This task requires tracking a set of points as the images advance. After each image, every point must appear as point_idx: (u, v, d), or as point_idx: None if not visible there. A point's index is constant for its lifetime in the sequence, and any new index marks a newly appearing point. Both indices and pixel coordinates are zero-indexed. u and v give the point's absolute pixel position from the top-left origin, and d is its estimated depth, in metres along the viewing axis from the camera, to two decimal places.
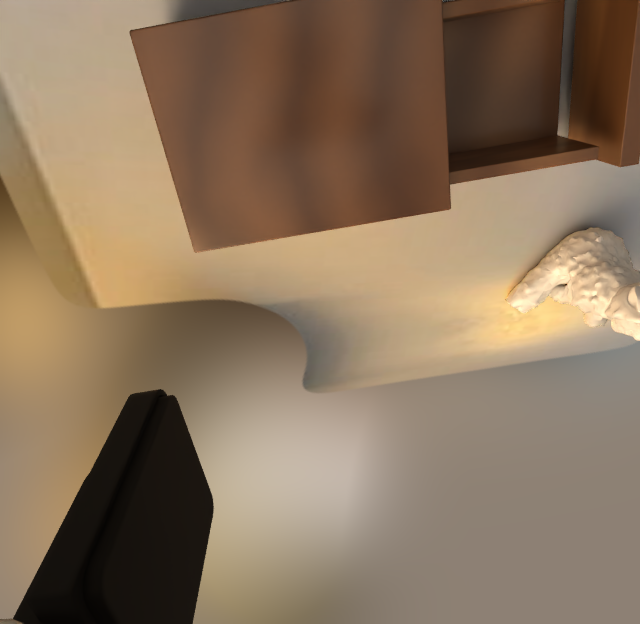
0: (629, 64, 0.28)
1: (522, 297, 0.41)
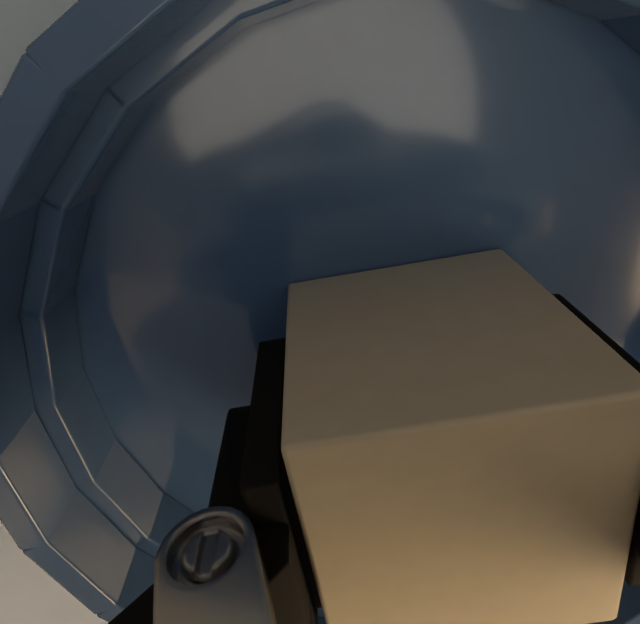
0: None
1: None
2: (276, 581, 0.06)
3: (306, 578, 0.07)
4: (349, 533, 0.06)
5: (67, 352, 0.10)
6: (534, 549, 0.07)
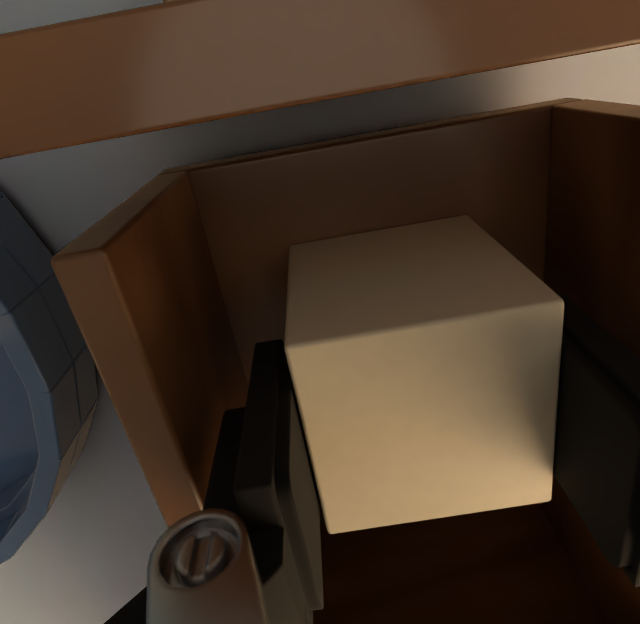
0: (397, 85, 0.06)
1: None
2: (270, 584, 0.06)
3: (301, 580, 0.07)
4: (336, 419, 0.08)
5: None
6: (480, 434, 0.09)
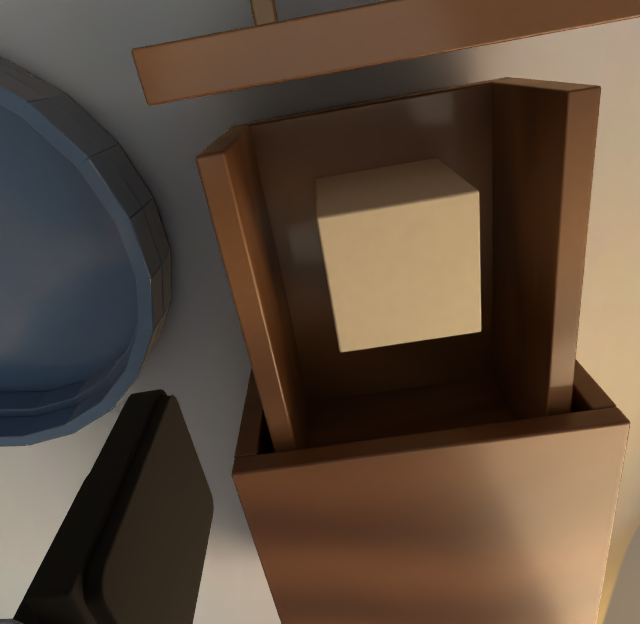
0: None
1: None
2: None
3: None
4: (346, 267, 0.14)
5: None
6: (433, 280, 0.14)
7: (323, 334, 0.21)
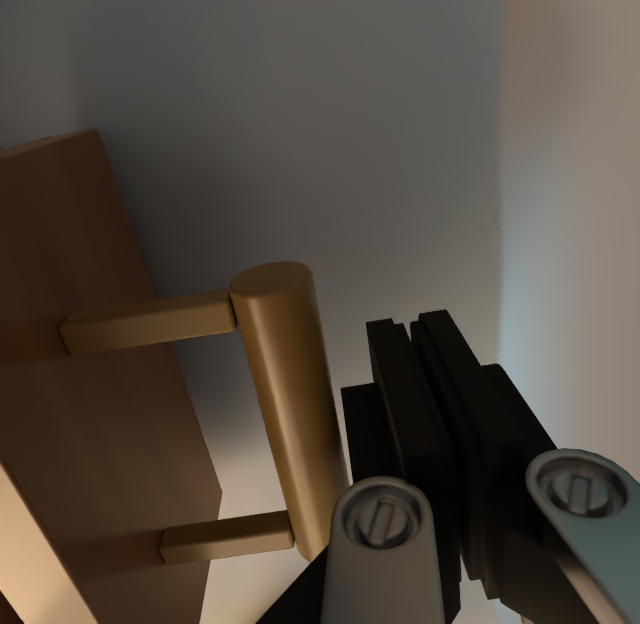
0: None
1: None
2: (446, 549, 0.06)
3: None
4: None
5: None
6: None
7: None
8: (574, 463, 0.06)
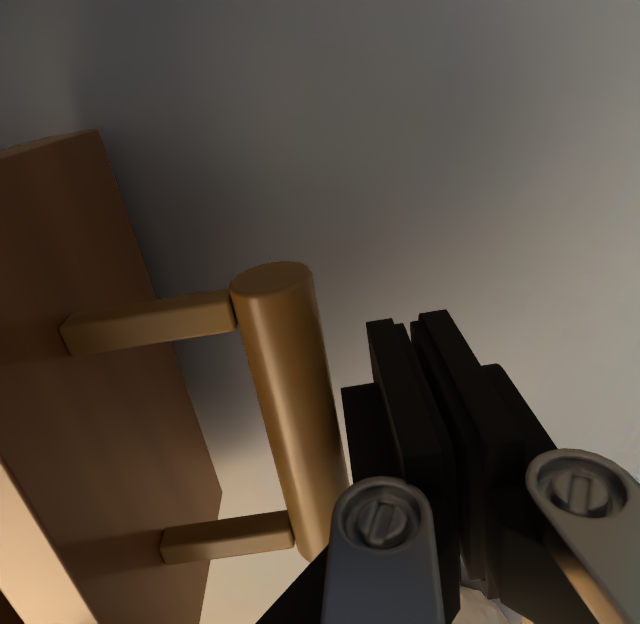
0: None
1: None
2: (446, 549, 0.06)
3: None
4: None
5: None
6: None
7: None
8: (574, 463, 0.06)
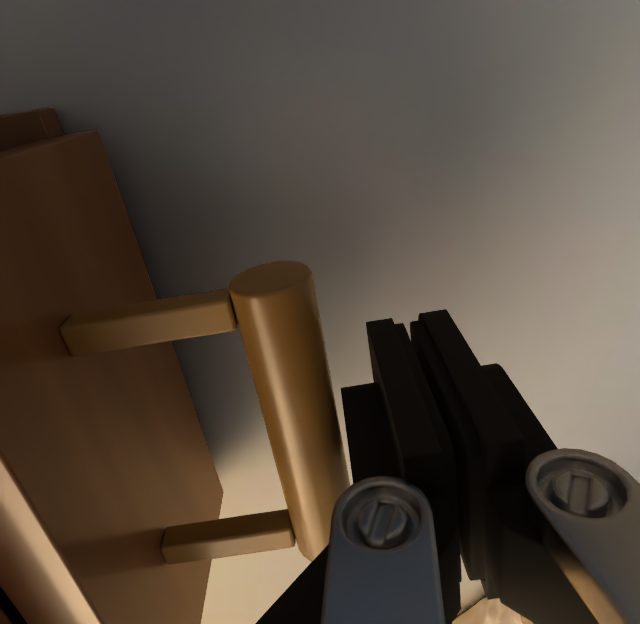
0: None
1: None
2: (446, 550, 0.06)
3: None
4: None
5: None
6: None
7: None
8: (574, 463, 0.06)
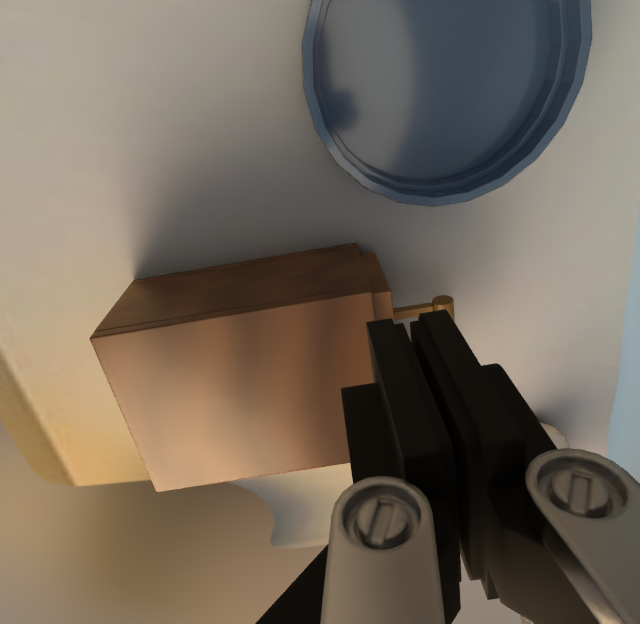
0: None
1: None
2: (446, 549, 0.06)
3: None
4: None
5: None
6: None
7: None
8: (574, 463, 0.06)
